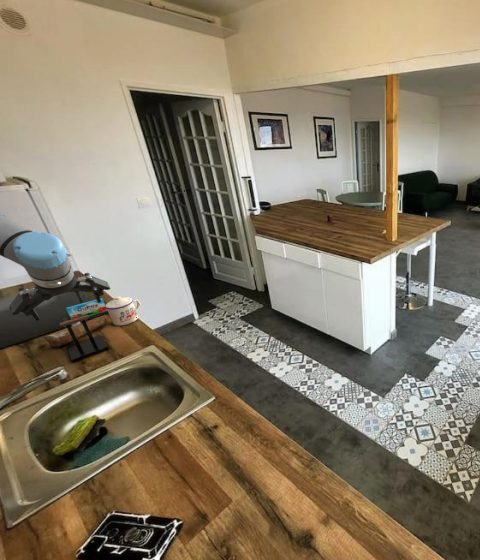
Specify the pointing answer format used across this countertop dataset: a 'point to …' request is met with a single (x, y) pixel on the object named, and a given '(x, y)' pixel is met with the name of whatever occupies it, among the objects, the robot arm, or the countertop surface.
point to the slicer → (85, 344)
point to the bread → (65, 337)
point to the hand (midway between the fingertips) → (68, 307)
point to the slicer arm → (74, 321)
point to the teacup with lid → (122, 310)
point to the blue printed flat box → (86, 309)
